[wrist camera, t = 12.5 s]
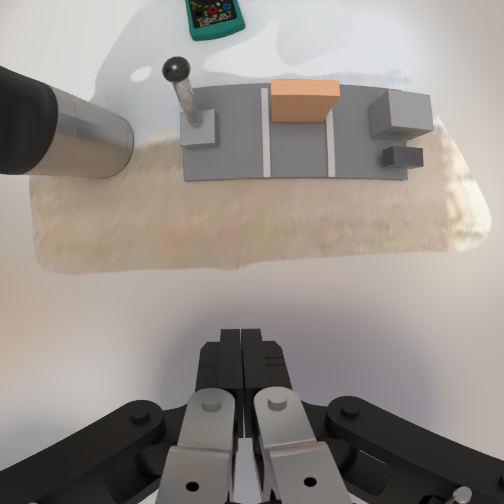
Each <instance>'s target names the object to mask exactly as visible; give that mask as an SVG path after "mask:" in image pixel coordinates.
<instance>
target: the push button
mask: <svg viewBox="0 0 504 504" xmlns="http://www.w3.org/2000/svg"><path fill="white" fill-rule="evenodd" d="M383 167H392V168H409V169H412V168H418V167H423V148H413V147H402V146H392V147H389V148H387V149H384V150H383Z"/></svg>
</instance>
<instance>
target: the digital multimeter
mask: <svg viewBox="0 0 504 504" xmlns="http://www.w3.org/2000/svg"><path fill="white" fill-rule="evenodd" d="M185 2H186V8H187V15H188V22H189V30H190V35H191V36H192V38H193V40H195V41H199V40H209V39H216V38H220V37H225V36H227V35H230V34H233V33H235V32H238V31H240V30H242V29H244V28H245V24H244V20H243V17H242V14H241V11H240V8H239V6H238V2H237V0H185ZM235 10H236V11H235Z"/></svg>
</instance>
